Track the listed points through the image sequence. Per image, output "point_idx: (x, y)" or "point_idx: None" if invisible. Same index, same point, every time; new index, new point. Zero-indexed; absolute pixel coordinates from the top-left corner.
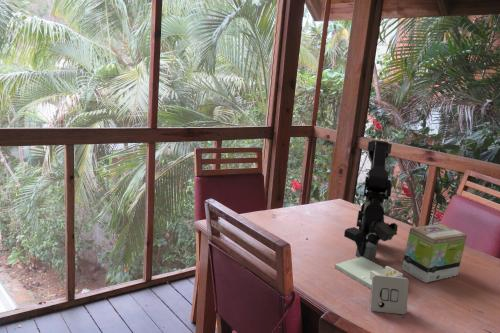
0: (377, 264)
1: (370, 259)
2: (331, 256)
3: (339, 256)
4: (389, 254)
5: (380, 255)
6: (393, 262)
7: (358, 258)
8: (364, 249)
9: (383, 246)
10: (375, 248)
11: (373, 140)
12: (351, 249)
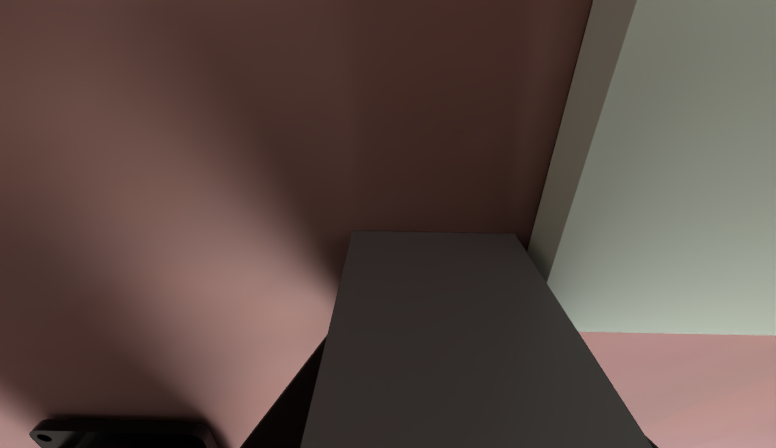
0: (637, 19)
1: (456, 245)
2: (691, 430)
3: (632, 409)
4: (27, 239)
5: (182, 270)
6: (109, 28)
7: (645, 316)
8: None
9: (5, 372)
10: (367, 395)
11: None
12: None
